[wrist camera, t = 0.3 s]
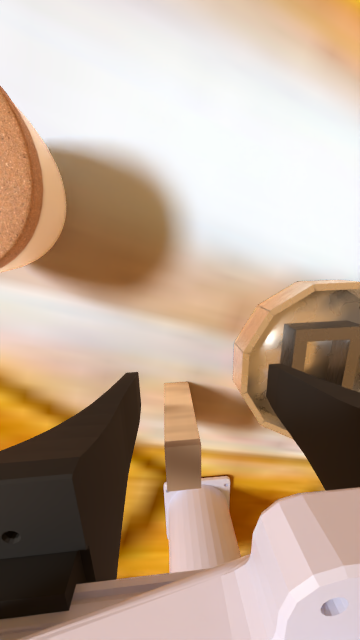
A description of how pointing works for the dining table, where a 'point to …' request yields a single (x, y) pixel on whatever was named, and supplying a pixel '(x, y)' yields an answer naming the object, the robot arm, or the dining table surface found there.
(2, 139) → the lidded jar
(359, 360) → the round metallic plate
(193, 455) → the wood wick
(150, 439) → the dining table surface
